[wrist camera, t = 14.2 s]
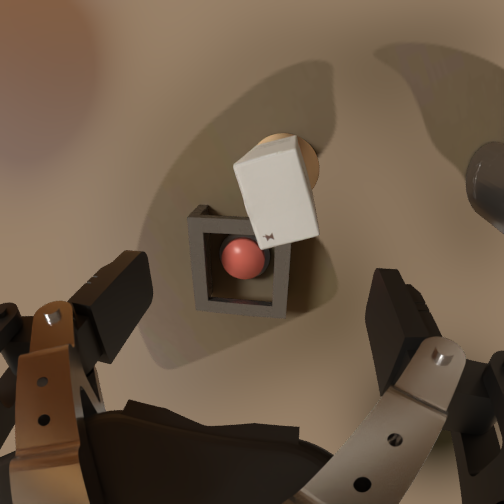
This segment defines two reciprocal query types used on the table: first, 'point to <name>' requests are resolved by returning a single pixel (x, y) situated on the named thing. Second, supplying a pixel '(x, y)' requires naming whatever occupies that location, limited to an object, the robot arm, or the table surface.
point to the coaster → (307, 153)
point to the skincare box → (277, 193)
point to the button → (243, 256)
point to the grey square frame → (202, 273)
